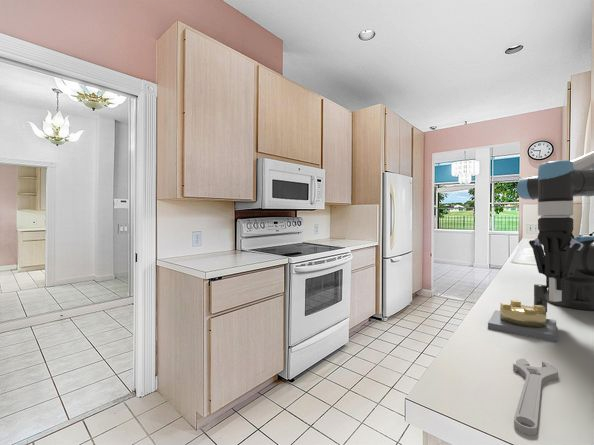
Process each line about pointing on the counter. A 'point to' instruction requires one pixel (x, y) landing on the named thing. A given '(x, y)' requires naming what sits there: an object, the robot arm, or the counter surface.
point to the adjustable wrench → (531, 394)
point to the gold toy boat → (527, 310)
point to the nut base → (524, 328)
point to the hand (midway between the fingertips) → (555, 300)
